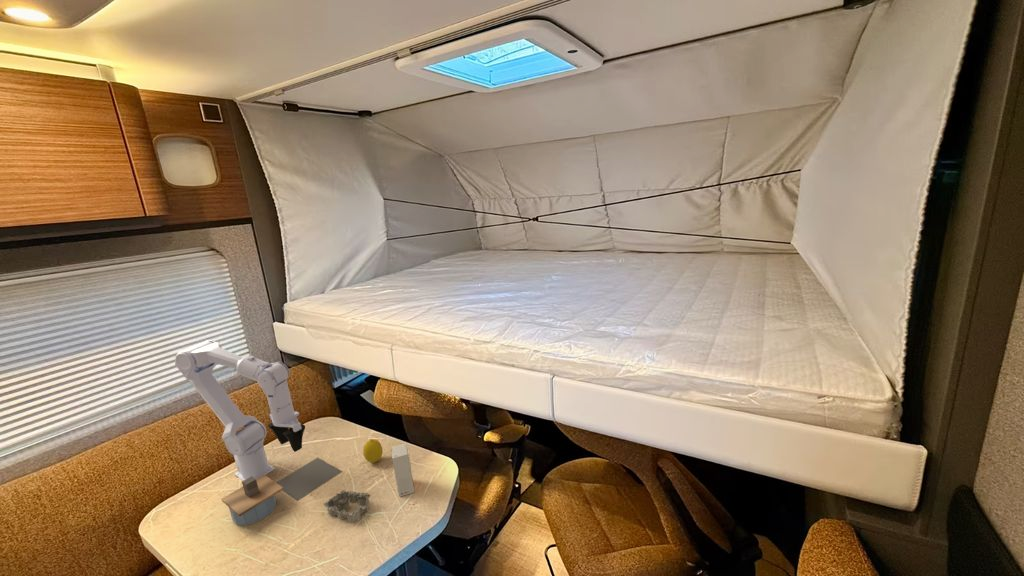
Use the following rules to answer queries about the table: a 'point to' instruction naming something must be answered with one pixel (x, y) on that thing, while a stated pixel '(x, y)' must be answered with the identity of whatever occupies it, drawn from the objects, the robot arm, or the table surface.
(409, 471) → the skincare box
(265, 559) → the table surface
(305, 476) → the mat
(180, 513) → the table surface
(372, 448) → the lemon
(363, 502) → the grey lumpy curved piece
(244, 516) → the bowl
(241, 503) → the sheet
